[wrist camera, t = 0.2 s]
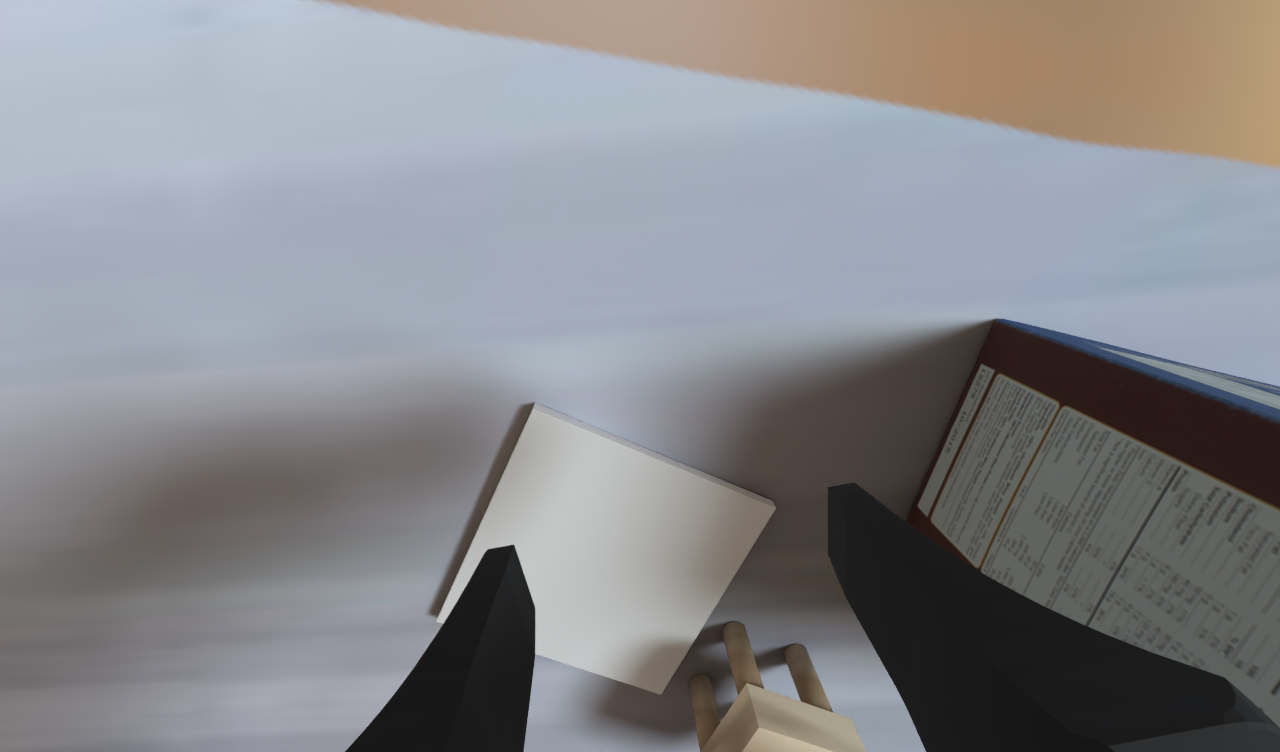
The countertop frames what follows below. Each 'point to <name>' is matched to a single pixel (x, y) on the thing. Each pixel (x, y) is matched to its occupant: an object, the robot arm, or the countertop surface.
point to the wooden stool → (769, 708)
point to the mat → (614, 547)
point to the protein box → (1120, 497)
